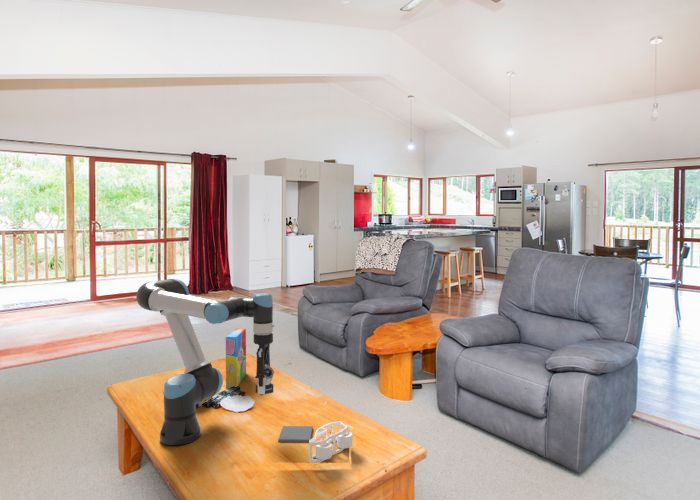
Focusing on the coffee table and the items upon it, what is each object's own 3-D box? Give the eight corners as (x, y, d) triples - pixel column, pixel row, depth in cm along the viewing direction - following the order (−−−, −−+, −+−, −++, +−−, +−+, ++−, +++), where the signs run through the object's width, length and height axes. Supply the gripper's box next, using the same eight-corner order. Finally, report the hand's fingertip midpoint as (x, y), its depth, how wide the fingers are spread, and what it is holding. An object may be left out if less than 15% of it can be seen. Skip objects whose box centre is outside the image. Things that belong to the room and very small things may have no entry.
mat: (278, 441, 174) (278, 439, 174) (283, 428, 186) (283, 426, 186) (309, 442, 174) (309, 439, 174) (312, 428, 186) (312, 426, 186)
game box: (236, 390, 231) (235, 337, 230) (225, 390, 231) (225, 337, 230) (246, 377, 252) (245, 328, 251) (236, 377, 252) (235, 328, 251)
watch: (263, 396, 177) (263, 368, 177) (253, 391, 184) (253, 363, 183) (276, 393, 181) (275, 366, 180) (266, 388, 187) (266, 361, 186)
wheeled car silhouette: (320, 468, 155) (320, 446, 155) (298, 457, 163) (298, 437, 162) (358, 447, 170) (358, 427, 170) (336, 438, 178) (336, 419, 177)
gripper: (267, 339, 171) (268, 399, 172) (277, 327, 191) (277, 381, 192) (247, 339, 171) (248, 399, 172) (259, 327, 191) (259, 381, 192)
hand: (263, 390), depth 182 cm, fingers closed on watch, 8 cm apart
